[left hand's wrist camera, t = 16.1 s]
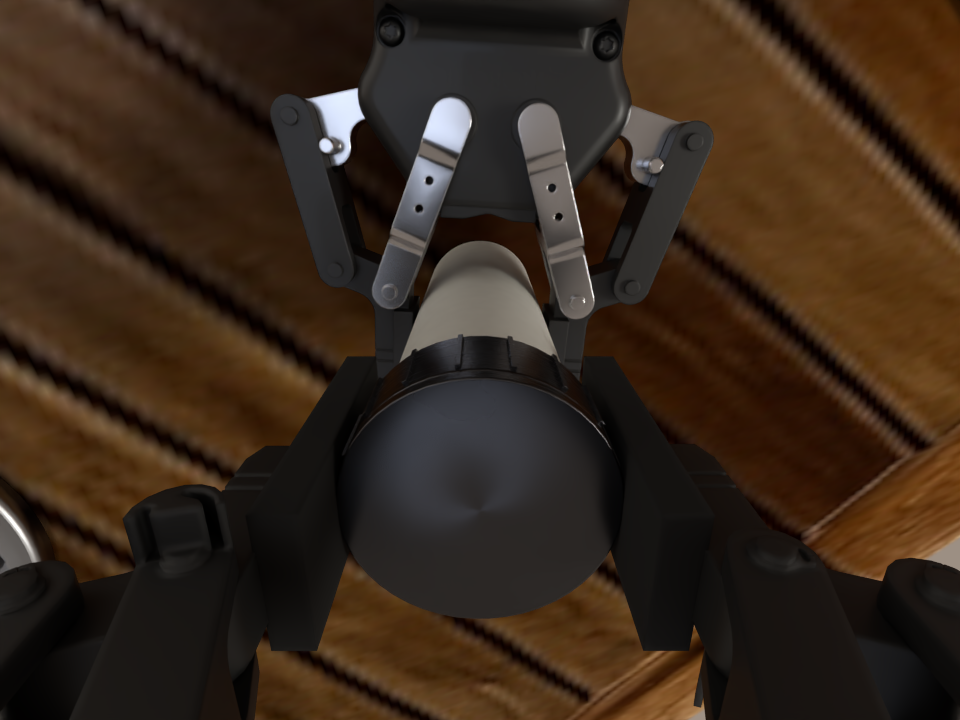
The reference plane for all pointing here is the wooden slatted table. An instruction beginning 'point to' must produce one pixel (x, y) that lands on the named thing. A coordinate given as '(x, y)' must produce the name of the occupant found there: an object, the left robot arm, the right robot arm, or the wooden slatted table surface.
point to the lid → (479, 480)
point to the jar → (479, 300)
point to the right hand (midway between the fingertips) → (476, 397)
